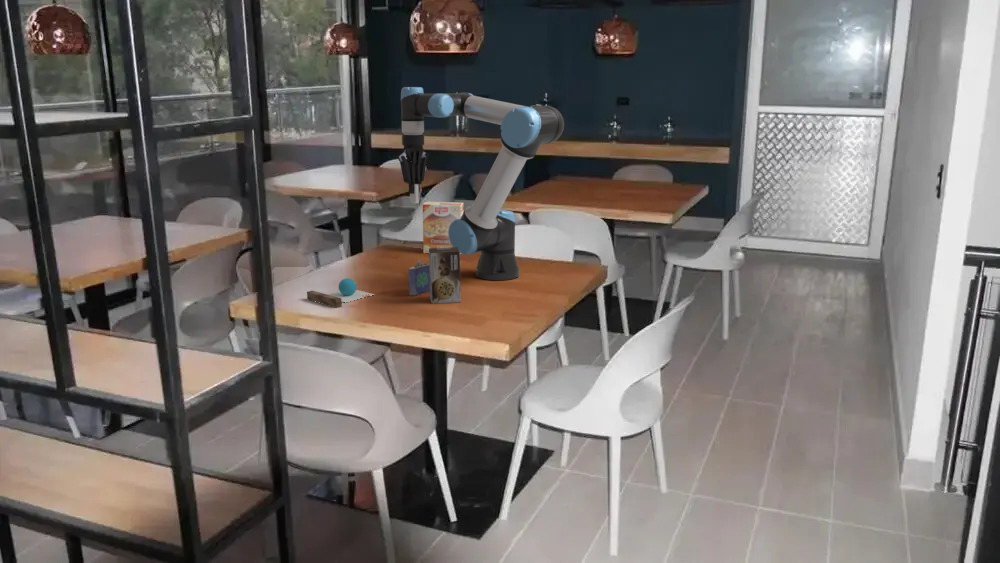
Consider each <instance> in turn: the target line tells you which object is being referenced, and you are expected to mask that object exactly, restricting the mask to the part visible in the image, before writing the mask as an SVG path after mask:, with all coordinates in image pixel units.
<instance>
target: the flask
mask: <svg viewBox="0 0 1000 563" xmlns="http://www.w3.org/2000/svg"><path fill="white" fill-rule="evenodd" d="M427 293H430V270H429V262H423V263H422V261H421V260H419V259H417V260H416V265H415V266H411V267H408V296H410V297H417V296H419V295H424V294H427Z"/></svg>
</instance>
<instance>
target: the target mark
mask: <svg viewBox="0 0 1000 563" xmlns="http://www.w3.org/2000/svg"><path fill="white" fill-rule="evenodd" d="M326 294H327V295H331V296H335V297H338V298H341V299H342V303H343V302H345V303H344V304H346V302H348V303H350V301H351V302H355V301H357V299H359V300H361V299H360V298H362V299H365V298H364V297H362V295H364V296H365V295H366V294H367V295H368V294H369V295H370V297H373V296H372V295H374V296H375V295H376V294H374V293H371V292H367V291H363V290H358V289H356V291H355V292H354V294H352V295H349V296H346V295H343V294H342V293H341V292H340V291H339V290H337V291H333V292H329V293H326ZM354 300H355V301H354Z"/></svg>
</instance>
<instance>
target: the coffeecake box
mask: <svg viewBox="0 0 1000 563" xmlns="http://www.w3.org/2000/svg"><path fill="white" fill-rule="evenodd" d="M463 212H464V202H457V201H455V202H452V201H451V202H450V201H449V202H448V201H445V202H444V201H426V202H423V204H422V245H423V246H422V248H423V252H422V253H423V254H425V253H429V248H449V247H453V246H452V245H451V243H450V239H449V236H448V230H449V226H450V224H451V223H452V222H453V221H455V220H457V219H460V218H461V216H462V214H463ZM460 254H461V253H460Z"/></svg>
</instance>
